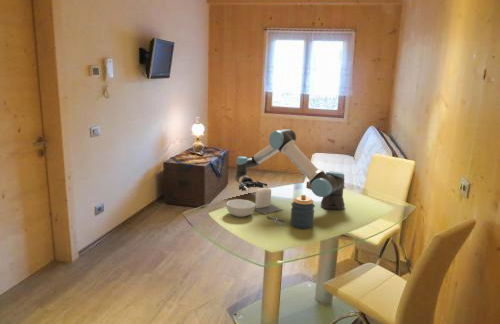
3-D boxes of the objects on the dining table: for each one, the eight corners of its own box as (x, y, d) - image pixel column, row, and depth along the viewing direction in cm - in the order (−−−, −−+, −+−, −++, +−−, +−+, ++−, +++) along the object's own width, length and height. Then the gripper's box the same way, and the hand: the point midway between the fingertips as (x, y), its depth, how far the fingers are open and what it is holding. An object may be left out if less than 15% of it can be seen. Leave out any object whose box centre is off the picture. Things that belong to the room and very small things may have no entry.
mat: (282, 210, 239) (282, 209, 239) (263, 214, 231) (263, 213, 231) (262, 201, 255) (262, 200, 255) (244, 205, 246) (244, 204, 246)
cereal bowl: (235, 221, 218) (235, 209, 216) (221, 212, 232) (221, 201, 230) (260, 217, 227) (260, 205, 225) (245, 208, 240) (245, 197, 239)
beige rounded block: (267, 204, 247) (268, 186, 245) (271, 206, 244) (272, 187, 241) (254, 207, 242) (254, 188, 239) (258, 209, 238) (258, 189, 236)
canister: (290, 219, 224) (291, 190, 220) (312, 221, 223) (314, 192, 219) (290, 228, 211) (291, 197, 207) (313, 230, 210) (316, 198, 206)
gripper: (262, 185, 274) (274, 194, 255) (229, 188, 265) (239, 197, 246) (262, 175, 273) (275, 183, 254) (229, 177, 264) (239, 185, 244)
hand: (257, 190), depth 250 cm, fingers open, 13 cm apart
